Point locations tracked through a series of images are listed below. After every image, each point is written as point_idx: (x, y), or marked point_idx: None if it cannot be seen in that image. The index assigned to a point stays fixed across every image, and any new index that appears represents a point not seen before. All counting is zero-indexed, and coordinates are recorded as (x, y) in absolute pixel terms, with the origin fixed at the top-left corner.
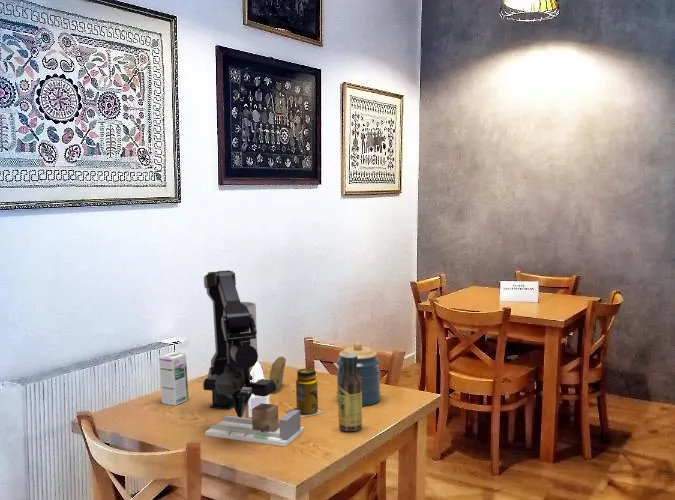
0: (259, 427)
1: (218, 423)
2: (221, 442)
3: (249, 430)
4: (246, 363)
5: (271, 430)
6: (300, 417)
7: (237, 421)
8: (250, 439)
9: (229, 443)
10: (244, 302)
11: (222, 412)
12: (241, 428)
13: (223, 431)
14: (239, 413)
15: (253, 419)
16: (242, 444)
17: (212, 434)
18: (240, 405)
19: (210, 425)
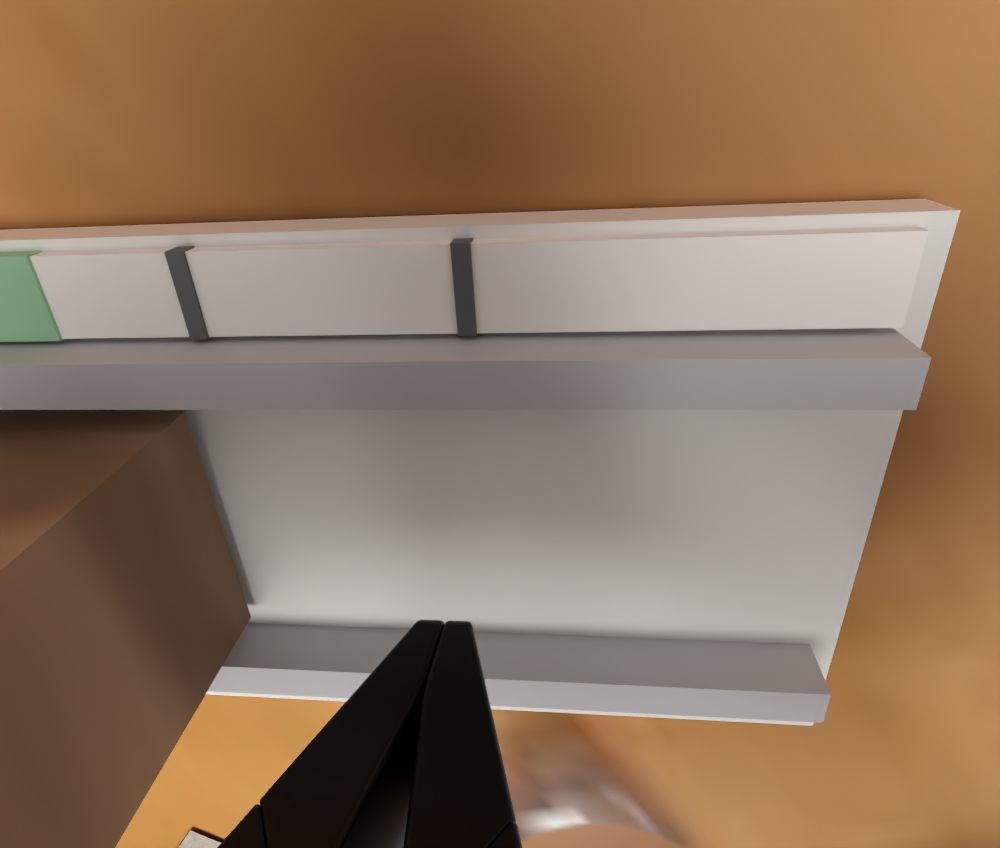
0: (17, 452)
1: (856, 559)
2: (493, 14)
3: (141, 364)
4: None
5: None
6: (186, 844)
7: (607, 648)
8: (97, 232)
9: (341, 30)
10: None
11: (961, 842)
12: (300, 389)
13: (604, 290)
14: (410, 666)
15: (18, 526)
16: (136, 80)
17: (788, 208)
18: (291, 830)
19: (925, 353)
